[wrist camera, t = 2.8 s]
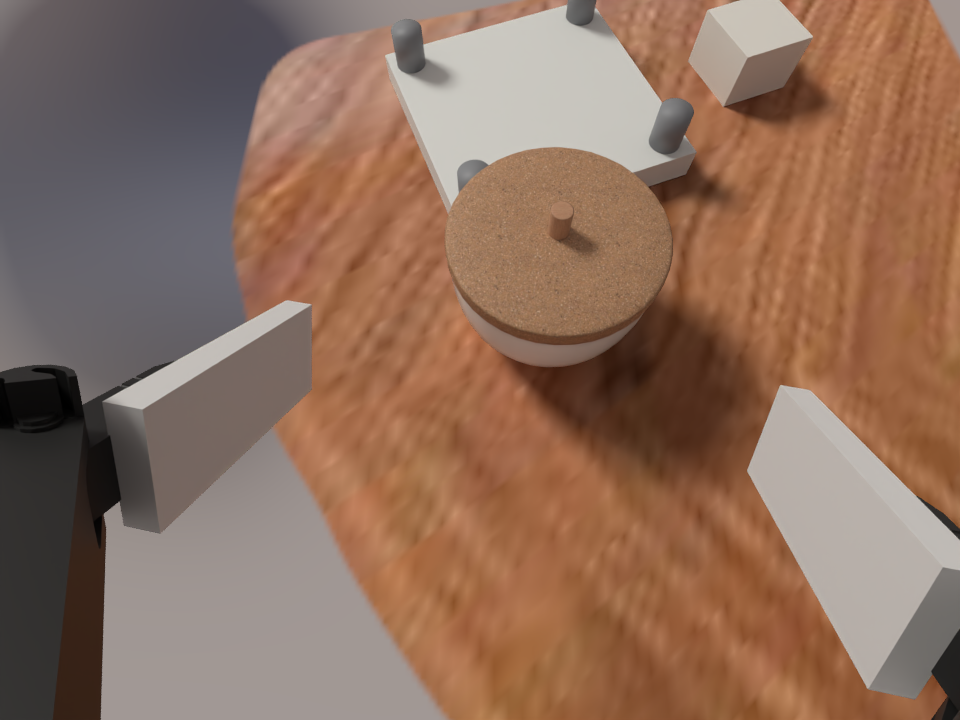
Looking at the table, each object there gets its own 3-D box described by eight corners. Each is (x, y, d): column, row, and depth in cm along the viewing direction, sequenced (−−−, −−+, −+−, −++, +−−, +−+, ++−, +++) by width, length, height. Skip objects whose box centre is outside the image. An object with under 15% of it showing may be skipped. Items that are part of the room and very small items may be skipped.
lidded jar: (461, 233, 34) (451, 115, 25) (628, 239, 34) (676, 122, 25) (447, 389, 30) (429, 312, 21) (637, 399, 30) (697, 325, 21)
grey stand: (685, 174, 36) (711, 120, 31) (462, 247, 34) (458, 200, 30) (585, 24, 41) (595, -38, 37) (389, 79, 40) (378, 21, 35)
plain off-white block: (782, 88, 39) (813, 37, 35) (722, 108, 38) (747, 57, 34) (745, 44, 40) (770, -9, 37) (687, 62, 40) (707, 10, 36)
